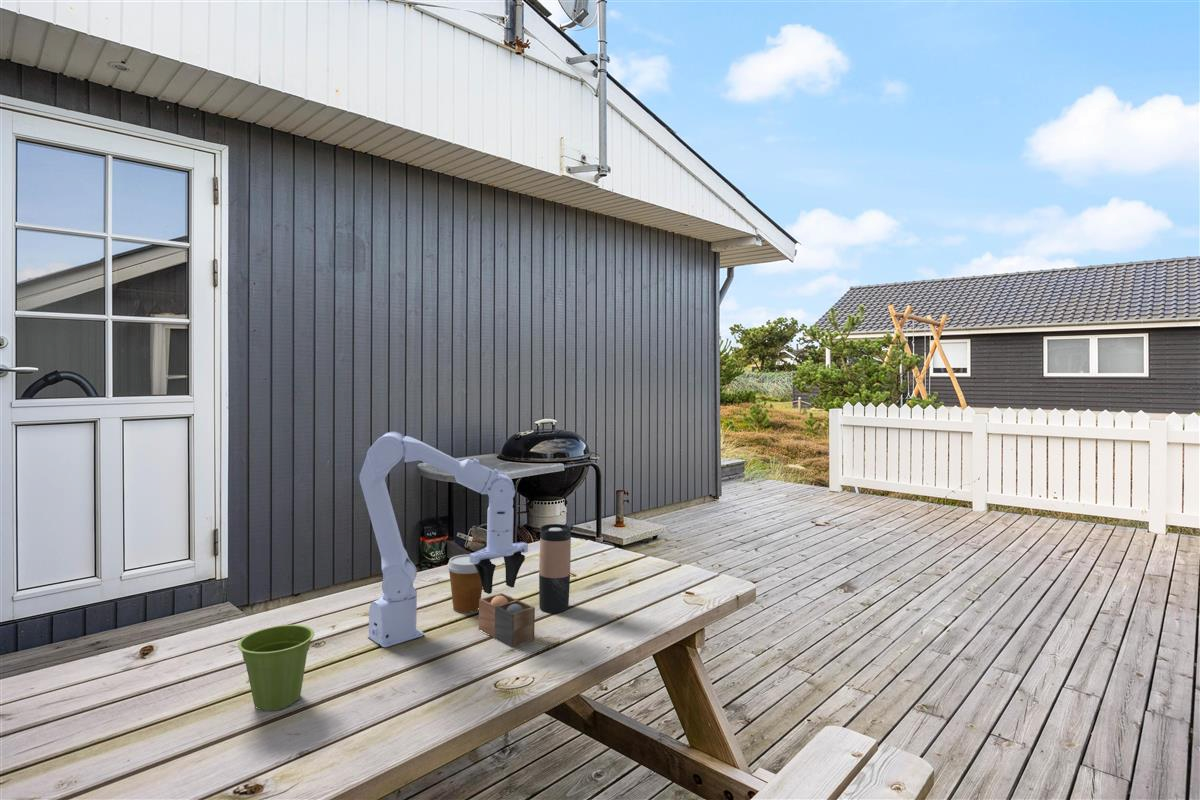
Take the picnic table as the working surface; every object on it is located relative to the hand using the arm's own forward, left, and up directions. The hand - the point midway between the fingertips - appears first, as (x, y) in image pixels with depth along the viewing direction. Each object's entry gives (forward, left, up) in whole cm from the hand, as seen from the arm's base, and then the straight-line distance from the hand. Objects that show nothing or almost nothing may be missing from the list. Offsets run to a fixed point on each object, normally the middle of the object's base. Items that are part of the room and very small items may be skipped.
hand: (499, 589), depth 144 cm
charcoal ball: (0, -5, -5) cm, 7 cm away
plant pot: (-47, +1, -10) cm, 47 cm away
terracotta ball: (0, 0, -5) cm, 5 cm away
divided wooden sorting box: (0, -3, -9) cm, 10 cm away
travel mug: (+18, +2, -10) cm, 21 cm away
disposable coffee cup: (+2, +16, -10) cm, 19 cm away
